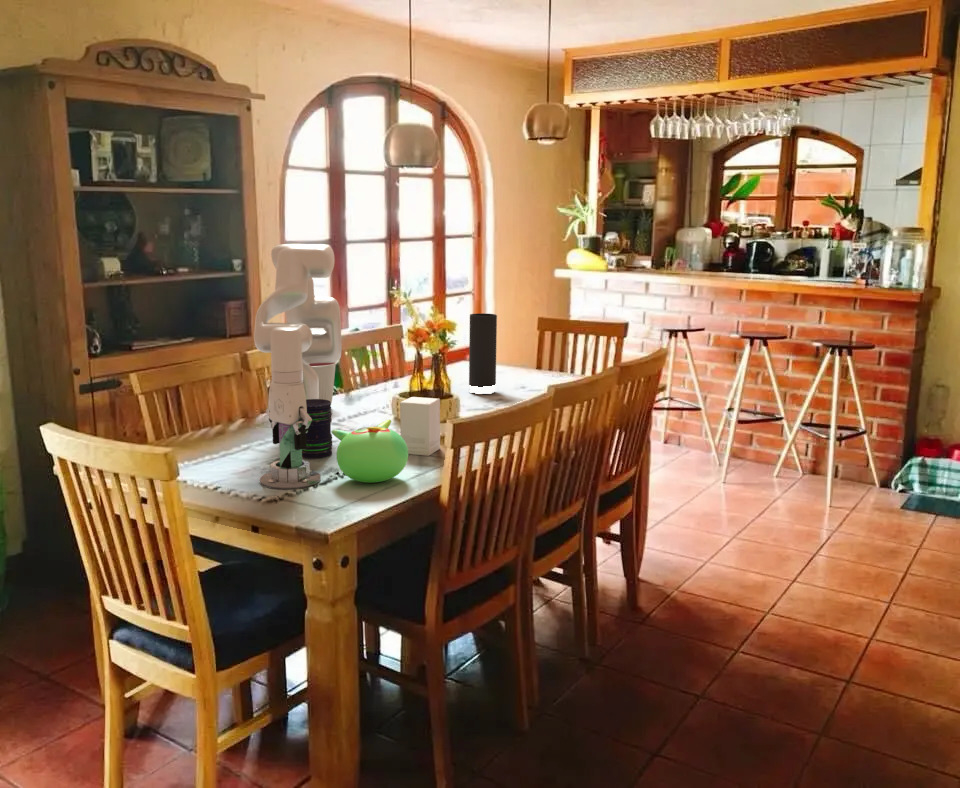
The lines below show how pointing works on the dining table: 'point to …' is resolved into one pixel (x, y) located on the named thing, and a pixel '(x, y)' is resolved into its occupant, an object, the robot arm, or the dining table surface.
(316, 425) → the storage jar
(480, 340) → the black tall cylinder
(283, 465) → the spray can
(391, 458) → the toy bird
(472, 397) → the dining table surface
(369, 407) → the dining table surface
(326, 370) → the white bucket
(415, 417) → the supplement box
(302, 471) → the collar
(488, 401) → the dining table surface
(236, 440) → the dining table surface
